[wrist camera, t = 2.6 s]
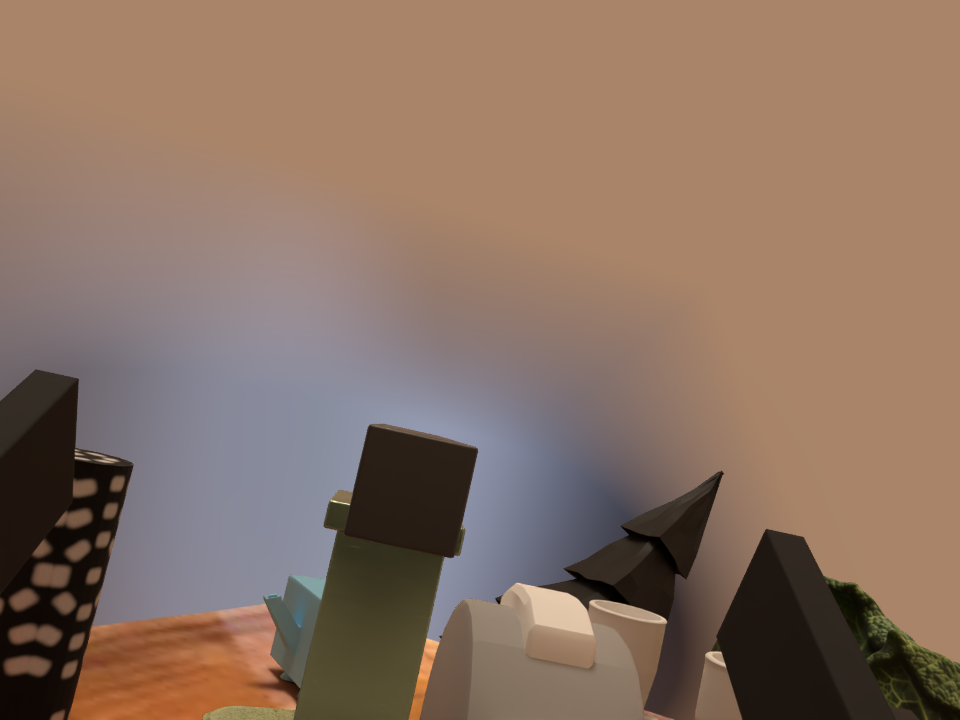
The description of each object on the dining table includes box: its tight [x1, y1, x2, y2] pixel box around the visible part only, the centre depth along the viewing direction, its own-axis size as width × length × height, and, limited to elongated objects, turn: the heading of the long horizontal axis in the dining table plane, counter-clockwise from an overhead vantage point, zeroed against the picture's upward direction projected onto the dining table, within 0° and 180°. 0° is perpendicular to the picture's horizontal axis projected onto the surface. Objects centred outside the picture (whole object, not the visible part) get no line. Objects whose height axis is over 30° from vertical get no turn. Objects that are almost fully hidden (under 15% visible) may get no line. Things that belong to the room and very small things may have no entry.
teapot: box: [263, 575, 326, 698], centre depth 88 cm, size 16×18×11 cm
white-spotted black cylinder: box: [0, 448, 133, 720], centre depth 63 cm, size 8×8×20 cm
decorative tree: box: [440, 471, 724, 638], centre depth 82 cm, size 15×15×35 cm
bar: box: [344, 424, 478, 558], centre depth 34 cm, size 22×3×3 cm, turn 5°
